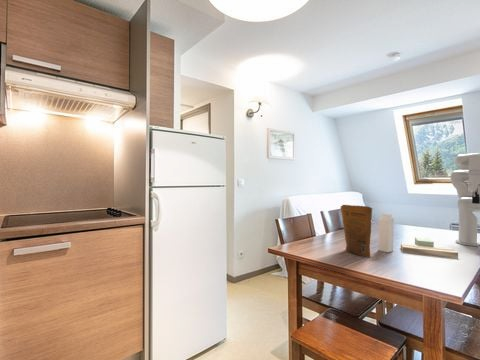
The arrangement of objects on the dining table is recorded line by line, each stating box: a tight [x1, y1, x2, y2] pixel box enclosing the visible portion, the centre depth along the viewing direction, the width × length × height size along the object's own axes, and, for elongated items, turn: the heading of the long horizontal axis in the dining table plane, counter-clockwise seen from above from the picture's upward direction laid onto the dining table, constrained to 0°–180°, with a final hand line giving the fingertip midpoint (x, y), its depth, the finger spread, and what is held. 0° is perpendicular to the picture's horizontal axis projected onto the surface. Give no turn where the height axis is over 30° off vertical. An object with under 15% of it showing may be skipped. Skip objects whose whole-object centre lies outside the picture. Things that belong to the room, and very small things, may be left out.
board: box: [400, 242, 459, 259], centre depth 155 cm, size 10×26×3 cm, turn 65°
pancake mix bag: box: [340, 204, 373, 258], centre depth 151 cm, size 7×19×28 cm, turn 28°
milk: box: [378, 213, 395, 253], centre depth 158 cm, size 6×6×22 cm
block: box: [414, 237, 435, 247], centre depth 164 cm, size 10×8×6 cm
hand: (475, 203), depth 161 cm, fingers closed
